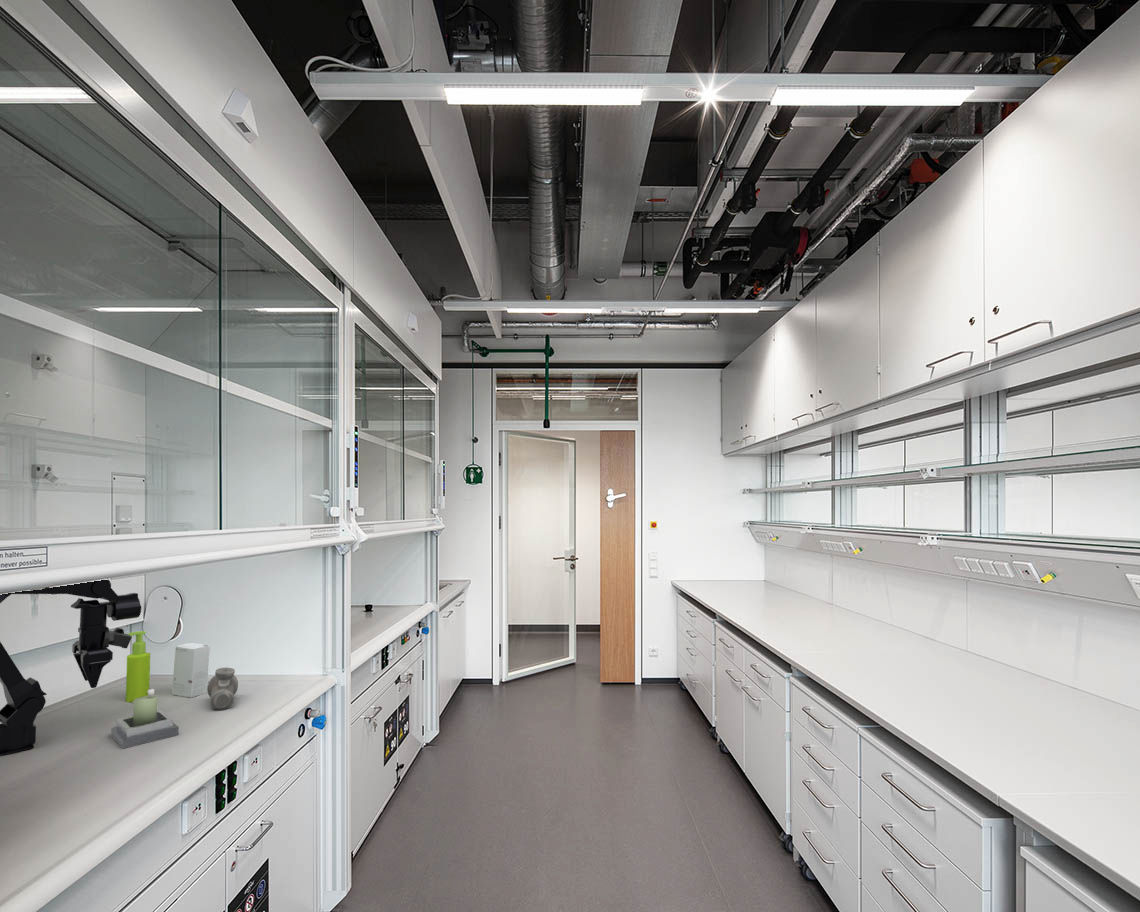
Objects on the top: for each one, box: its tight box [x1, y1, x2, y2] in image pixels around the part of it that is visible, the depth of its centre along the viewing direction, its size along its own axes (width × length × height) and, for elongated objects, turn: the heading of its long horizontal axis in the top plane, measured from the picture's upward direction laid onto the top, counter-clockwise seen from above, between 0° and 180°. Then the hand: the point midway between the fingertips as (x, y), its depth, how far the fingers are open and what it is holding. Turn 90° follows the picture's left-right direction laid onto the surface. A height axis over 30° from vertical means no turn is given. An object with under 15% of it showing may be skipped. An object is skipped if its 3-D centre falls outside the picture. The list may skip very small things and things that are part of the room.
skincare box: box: [171, 642, 211, 699], centre depth 201 cm, size 8×6×15 cm
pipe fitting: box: [207, 666, 239, 711], centre depth 190 cm, size 12×8×10 cm
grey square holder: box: [110, 709, 180, 749], centre depth 167 cm, size 12×12×4 cm
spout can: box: [132, 688, 158, 727], centre depth 167 cm, size 5×5×9 cm
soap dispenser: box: [125, 630, 151, 703], centre depth 196 cm, size 6×7×20 cm
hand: (90, 684), depth 171 cm, fingers open, 9 cm apart
